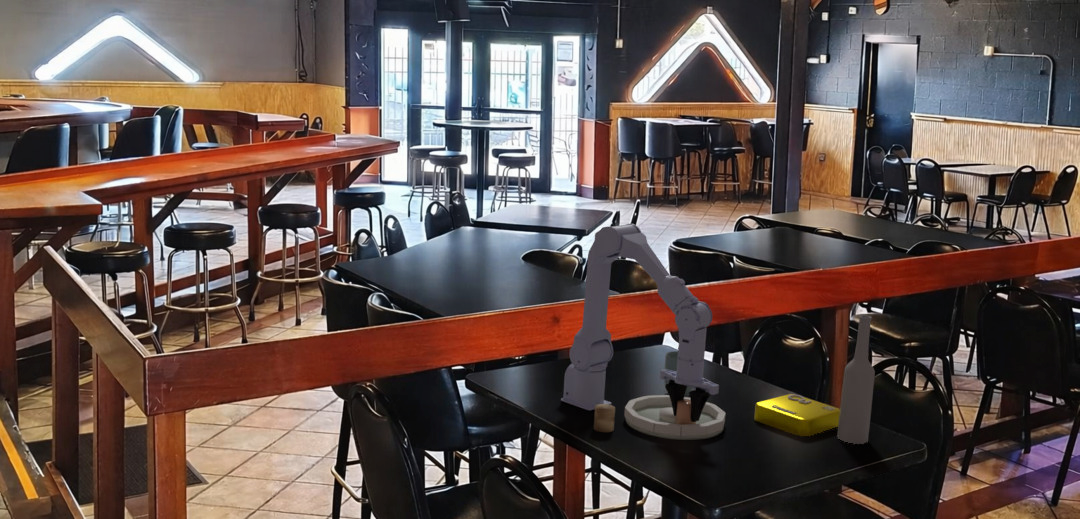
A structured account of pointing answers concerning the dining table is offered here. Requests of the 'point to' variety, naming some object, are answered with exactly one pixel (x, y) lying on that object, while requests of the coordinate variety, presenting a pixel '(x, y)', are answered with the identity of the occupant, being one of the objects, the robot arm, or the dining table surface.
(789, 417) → the element tile
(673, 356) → the cup
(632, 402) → the groove tray
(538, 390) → the dining table surface
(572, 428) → the dining table surface
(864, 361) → the bottle
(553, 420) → the dining table surface
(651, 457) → the dining table surface
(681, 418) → the terracotta bead
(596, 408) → the maple bead
